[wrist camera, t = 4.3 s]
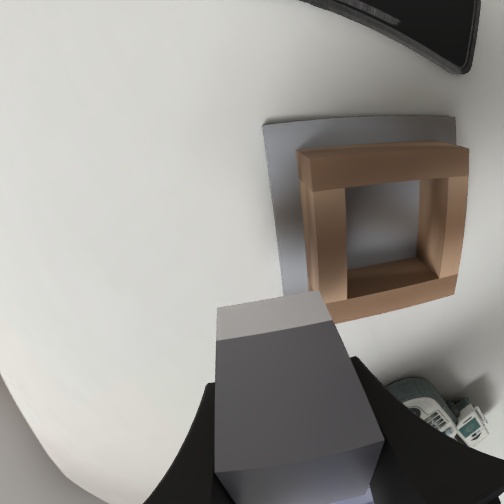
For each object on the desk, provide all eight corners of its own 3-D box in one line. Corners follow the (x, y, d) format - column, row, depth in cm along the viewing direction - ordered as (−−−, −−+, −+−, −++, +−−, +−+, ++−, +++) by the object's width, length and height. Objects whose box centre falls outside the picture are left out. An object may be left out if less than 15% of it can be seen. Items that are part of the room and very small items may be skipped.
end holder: (441, 282, 21) (466, 308, 18) (286, 316, 21) (295, 351, 18) (450, 116, 16) (486, 122, 13) (262, 125, 16) (270, 128, 13)
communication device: (434, 338, 24) (484, 408, 16) (480, 413, 32) (507, 456, 24) (329, 415, 27) (352, 492, 19) (413, 460, 35) (432, 506, 27)
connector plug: (321, 361, 14) (365, 494, 8) (236, 376, 14) (244, 517, 8) (318, 289, 12) (384, 440, 6) (217, 307, 12) (214, 472, 6)
